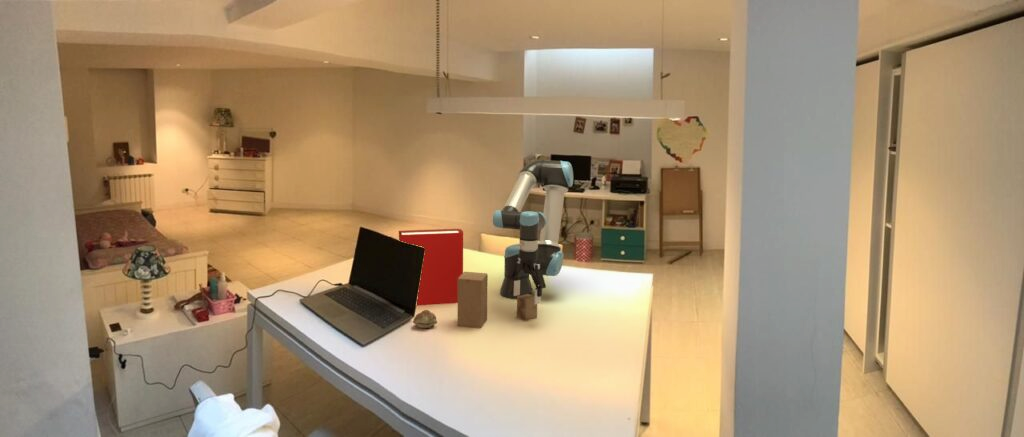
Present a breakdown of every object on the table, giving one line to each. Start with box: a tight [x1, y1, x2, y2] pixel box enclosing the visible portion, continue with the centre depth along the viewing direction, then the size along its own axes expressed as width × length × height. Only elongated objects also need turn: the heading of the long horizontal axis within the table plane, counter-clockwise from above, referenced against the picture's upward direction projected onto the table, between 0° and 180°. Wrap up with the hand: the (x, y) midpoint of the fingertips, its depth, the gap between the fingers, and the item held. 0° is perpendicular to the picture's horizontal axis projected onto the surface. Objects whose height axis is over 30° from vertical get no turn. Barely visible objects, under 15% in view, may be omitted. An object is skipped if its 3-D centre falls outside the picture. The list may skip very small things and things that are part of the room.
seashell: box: [412, 309, 438, 329], centre depth 248 cm, size 9×7×8 cm
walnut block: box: [516, 294, 538, 322], centre depth 260 cm, size 6×6×9 cm
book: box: [398, 228, 464, 307], centre depth 275 cm, size 27×8×32 cm, turn 104°
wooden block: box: [457, 271, 489, 329], centre depth 252 cm, size 10×10×20 cm
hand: (526, 299), depth 259 cm, fingers open, 13 cm apart
